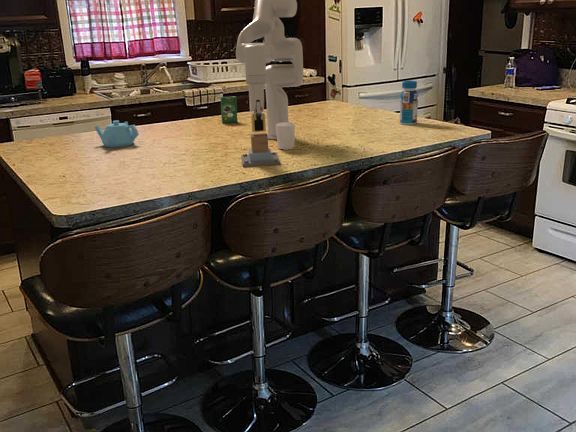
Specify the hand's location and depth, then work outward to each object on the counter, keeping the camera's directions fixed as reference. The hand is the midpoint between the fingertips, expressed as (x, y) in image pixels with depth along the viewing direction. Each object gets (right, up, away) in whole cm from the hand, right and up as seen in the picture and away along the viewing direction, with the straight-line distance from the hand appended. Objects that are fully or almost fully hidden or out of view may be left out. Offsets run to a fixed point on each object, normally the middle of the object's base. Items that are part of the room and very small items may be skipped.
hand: (258, 128), depth 227 cm
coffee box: (-19, +15, +84) cm, 88 cm away
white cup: (+10, -5, +24) cm, 27 cm away
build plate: (0, -12, +4) cm, 13 cm away
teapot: (-64, -1, +42) cm, 77 cm away
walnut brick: (0, -8, +3) cm, 8 cm away
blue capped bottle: (+69, +12, +65) cm, 95 cm away
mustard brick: (0, -1, 0) cm, 1 cm away
